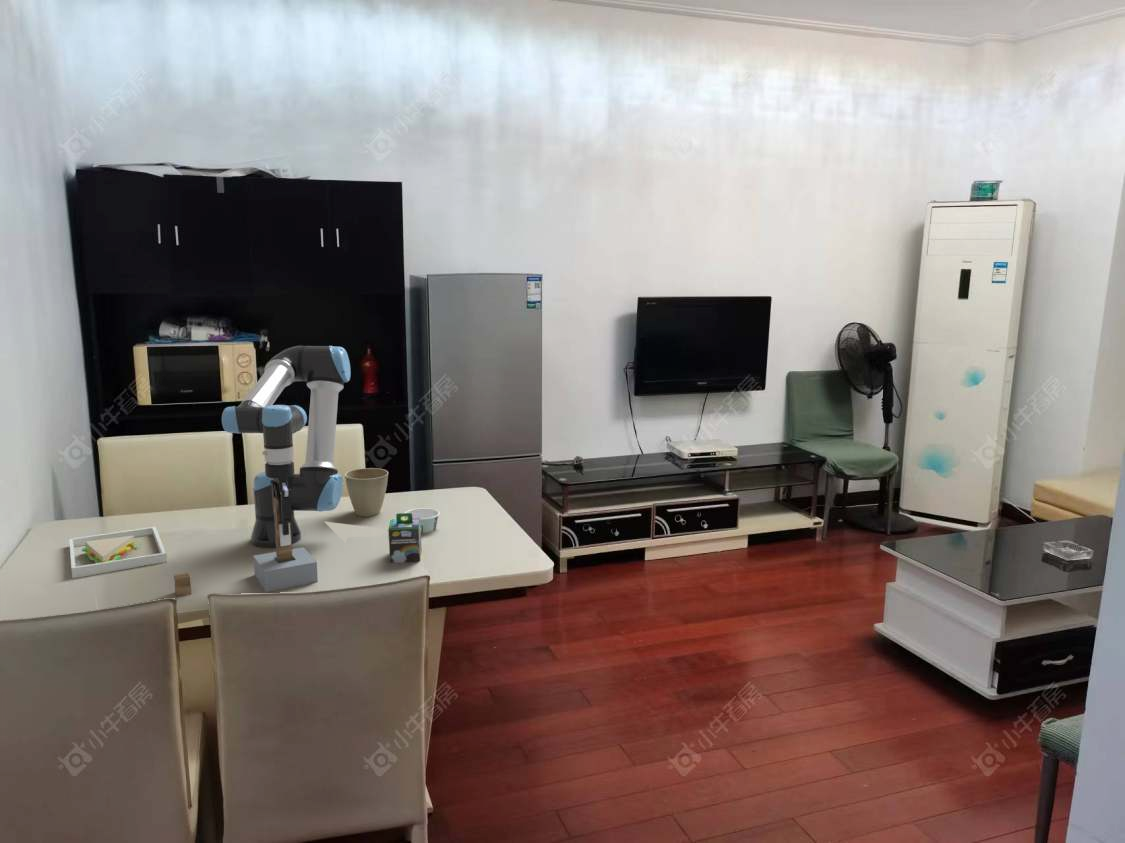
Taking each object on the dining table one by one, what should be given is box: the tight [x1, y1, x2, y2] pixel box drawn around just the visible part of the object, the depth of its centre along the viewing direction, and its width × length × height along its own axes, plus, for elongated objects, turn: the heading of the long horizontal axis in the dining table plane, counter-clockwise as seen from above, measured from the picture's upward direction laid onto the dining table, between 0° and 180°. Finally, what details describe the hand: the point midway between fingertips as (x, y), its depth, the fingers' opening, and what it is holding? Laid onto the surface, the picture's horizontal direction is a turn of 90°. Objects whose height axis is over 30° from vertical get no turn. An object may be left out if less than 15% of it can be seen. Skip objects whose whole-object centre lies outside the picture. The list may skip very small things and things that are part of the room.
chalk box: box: [387, 512, 423, 564], centre depth 240 cm, size 9×9×15 cm
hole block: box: [253, 546, 319, 593], centre depth 224 cm, size 14×14×6 cm
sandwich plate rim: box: [68, 526, 168, 579], centre depth 241 cm, size 29×24×3 cm
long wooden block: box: [273, 496, 293, 562], centre depth 221 cm, size 4×4×18 cm
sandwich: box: [81, 536, 141, 564], centre depth 236 cm, size 15×20×5 cm
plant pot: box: [344, 467, 389, 518], centre depth 280 cm, size 15×15×16 cm
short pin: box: [173, 572, 192, 597], centre depth 214 cm, size 4×4×5 cm
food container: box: [403, 507, 441, 534], centre depth 265 cm, size 12×12×6 cm
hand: (283, 542), depth 222 cm, fingers closed on long wooden block, 3 cm apart
